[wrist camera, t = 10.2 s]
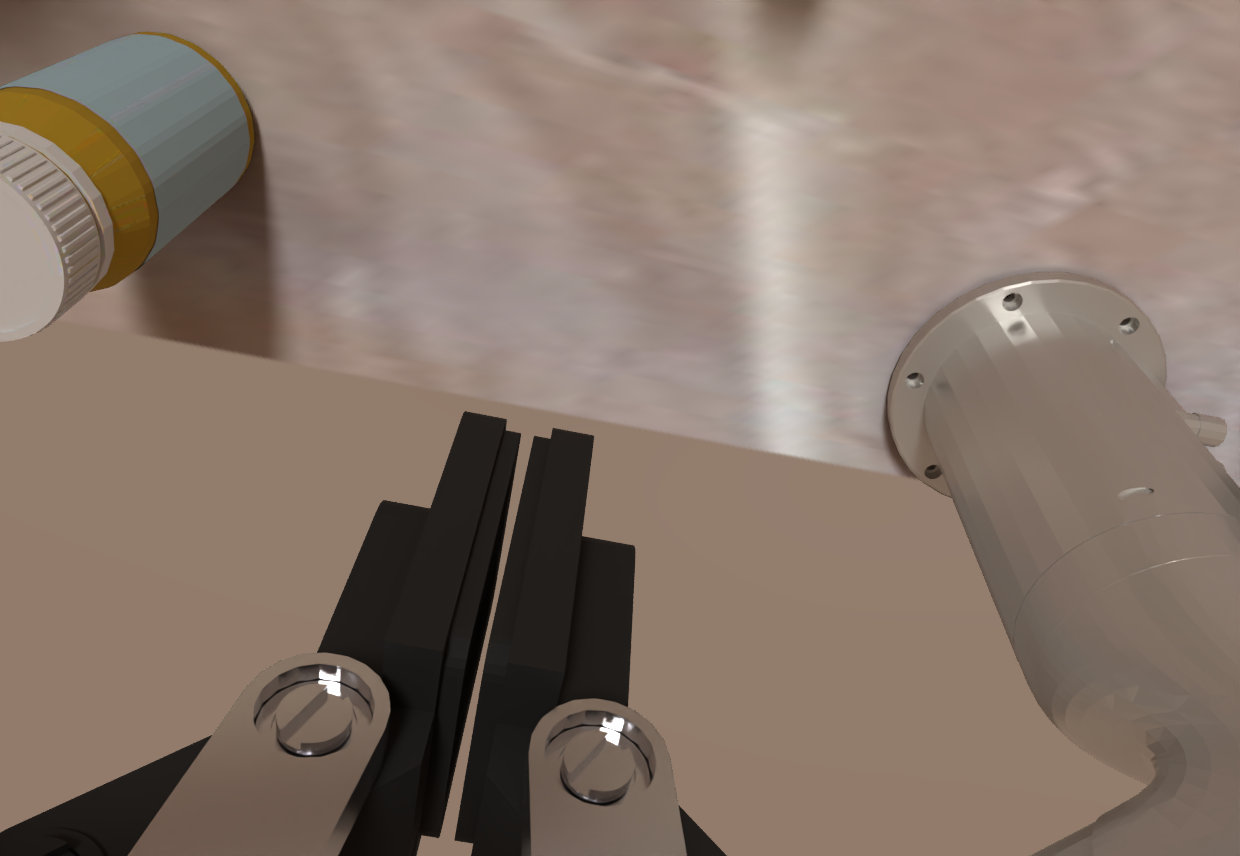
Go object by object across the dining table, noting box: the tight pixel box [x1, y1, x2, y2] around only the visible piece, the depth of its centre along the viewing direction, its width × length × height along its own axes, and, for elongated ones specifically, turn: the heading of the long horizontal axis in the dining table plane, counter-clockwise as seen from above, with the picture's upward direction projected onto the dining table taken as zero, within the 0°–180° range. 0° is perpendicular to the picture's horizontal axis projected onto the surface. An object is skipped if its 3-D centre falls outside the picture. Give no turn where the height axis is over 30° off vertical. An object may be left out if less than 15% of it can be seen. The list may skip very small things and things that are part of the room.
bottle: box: [0, 32, 254, 341], centre depth 35 cm, size 7×7×15 cm
